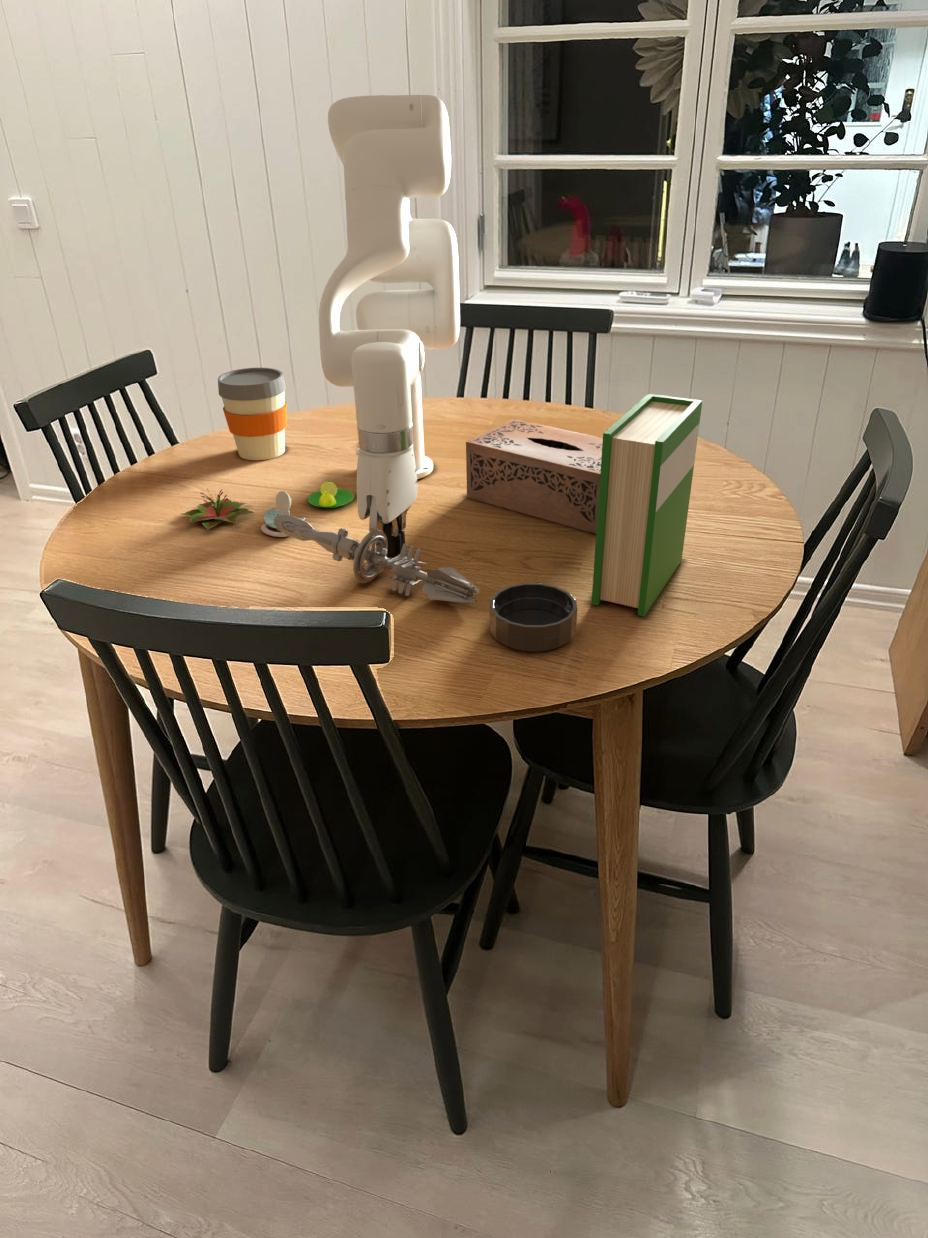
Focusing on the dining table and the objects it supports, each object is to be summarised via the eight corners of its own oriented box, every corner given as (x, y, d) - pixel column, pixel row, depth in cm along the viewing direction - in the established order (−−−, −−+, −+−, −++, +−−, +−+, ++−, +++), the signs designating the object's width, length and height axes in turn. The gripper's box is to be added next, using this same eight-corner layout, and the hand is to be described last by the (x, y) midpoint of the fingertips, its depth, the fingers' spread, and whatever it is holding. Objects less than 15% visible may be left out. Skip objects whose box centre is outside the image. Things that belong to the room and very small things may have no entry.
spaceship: (295, 494, 128) (261, 493, 121) (496, 566, 115) (471, 570, 108) (285, 544, 130) (251, 546, 123) (481, 620, 117) (455, 628, 110)
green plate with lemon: (303, 496, 148) (301, 481, 146) (347, 488, 150) (345, 473, 149) (314, 513, 141) (312, 498, 140) (360, 505, 144) (359, 490, 142)
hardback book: (644, 616, 111) (663, 442, 99) (591, 604, 114) (603, 433, 102) (681, 560, 125) (702, 400, 112) (633, 550, 128) (648, 393, 115)
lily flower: (268, 516, 141) (264, 490, 138) (204, 539, 134) (199, 513, 131) (230, 496, 148) (226, 472, 146) (167, 517, 141) (162, 492, 139)
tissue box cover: (466, 497, 146) (465, 441, 141) (513, 471, 156) (514, 418, 150) (597, 534, 133) (602, 474, 127) (640, 503, 142) (645, 446, 137)
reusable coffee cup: (307, 447, 168) (297, 372, 161) (262, 468, 160) (250, 389, 152) (261, 437, 174) (250, 363, 166) (216, 456, 165) (201, 379, 158)
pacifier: (285, 543, 132) (311, 528, 137) (279, 507, 129) (306, 492, 133) (252, 532, 136) (279, 518, 140) (245, 497, 133) (273, 483, 137)
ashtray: (476, 642, 107) (475, 615, 105) (509, 602, 115) (510, 576, 113) (558, 662, 103) (559, 634, 101) (586, 618, 111) (588, 592, 109)
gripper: (388, 417, 123) (396, 530, 133) (333, 451, 112) (346, 573, 121) (434, 423, 120) (438, 539, 130) (382, 459, 109) (391, 583, 119)
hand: (394, 555), depth 126 cm, fingers closed
